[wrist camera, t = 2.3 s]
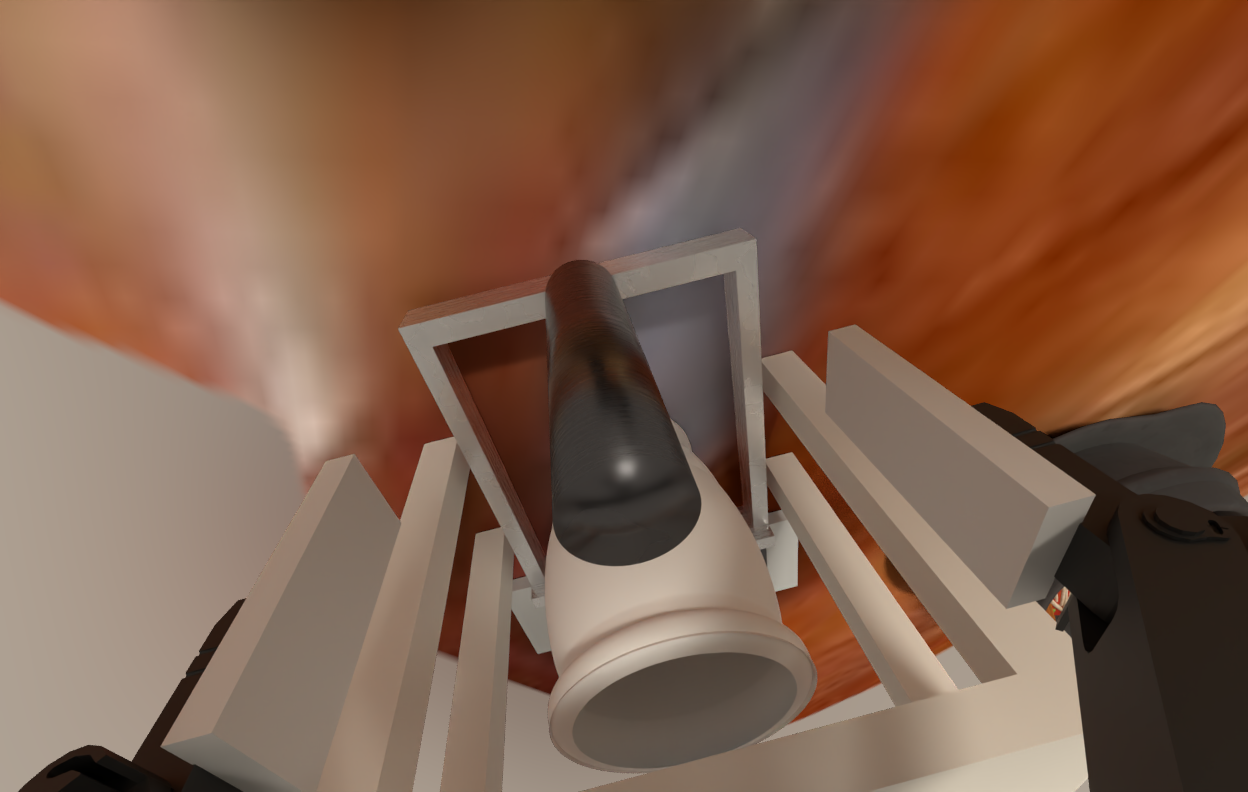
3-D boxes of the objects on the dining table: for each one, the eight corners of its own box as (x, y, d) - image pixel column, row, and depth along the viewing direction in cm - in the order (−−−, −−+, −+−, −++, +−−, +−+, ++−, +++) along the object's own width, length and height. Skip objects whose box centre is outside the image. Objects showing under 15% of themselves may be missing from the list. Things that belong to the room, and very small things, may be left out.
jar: (736, 454, 32) (865, 691, 19) (622, 538, 34) (670, 794, 22) (631, 356, 26) (714, 596, 14) (507, 465, 29) (484, 746, 17)
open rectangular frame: (424, 444, 27) (261, 956, 11) (792, 350, 28) (1147, 715, 12) (537, 642, 40) (538, 1023, 23) (792, 575, 40) (964, 906, 24)
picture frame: (398, 290, 22) (208, 566, 9) (739, 205, 22) (1006, 361, 9) (536, 569, 33) (535, 857, 21) (757, 511, 33) (887, 762, 21)
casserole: (909, 609, 46) (975, 701, 39) (870, 498, 36) (949, 596, 29) (1177, 493, 42) (1303, 572, 35) (1216, 333, 32) (1402, 401, 25)
